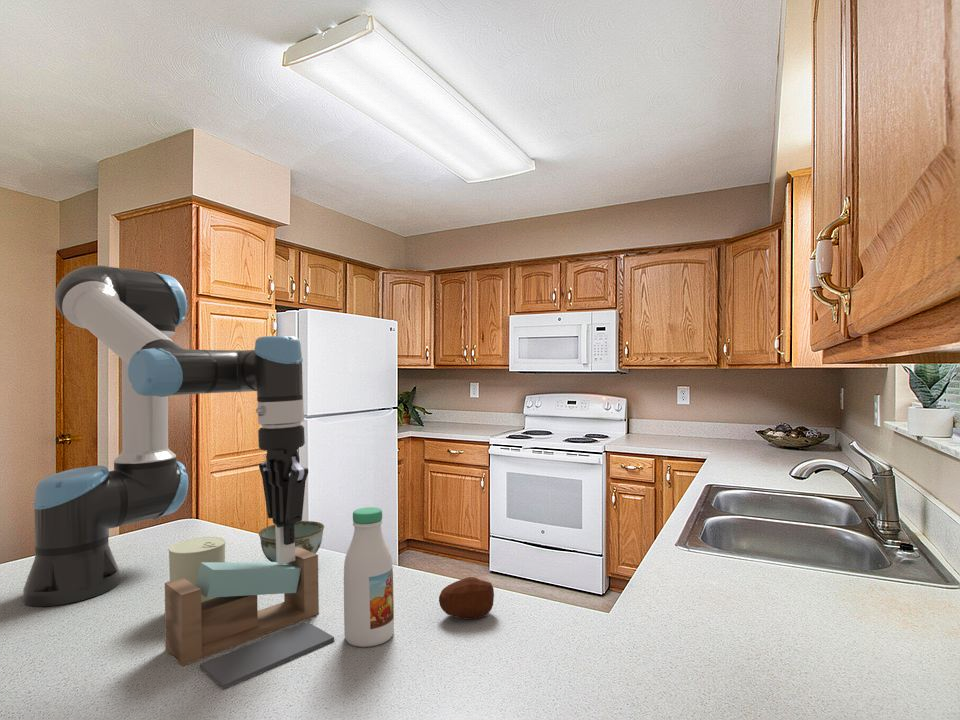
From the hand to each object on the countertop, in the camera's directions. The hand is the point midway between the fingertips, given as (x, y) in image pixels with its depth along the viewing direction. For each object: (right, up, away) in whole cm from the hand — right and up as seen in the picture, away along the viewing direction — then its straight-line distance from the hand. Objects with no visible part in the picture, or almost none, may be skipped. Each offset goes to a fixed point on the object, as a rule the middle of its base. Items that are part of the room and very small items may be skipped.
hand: (286, 561), depth 95 cm
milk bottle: (+16, -9, -8) cm, 20 cm away
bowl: (-7, -10, +25) cm, 28 cm away
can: (-17, -10, +4) cm, 20 cm away
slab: (-5, -3, -5) cm, 7 cm away
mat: (+2, -9, -13) cm, 16 cm away
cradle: (-4, -9, -4) cm, 11 cm away
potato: (+31, -9, -1) cm, 33 cm away
